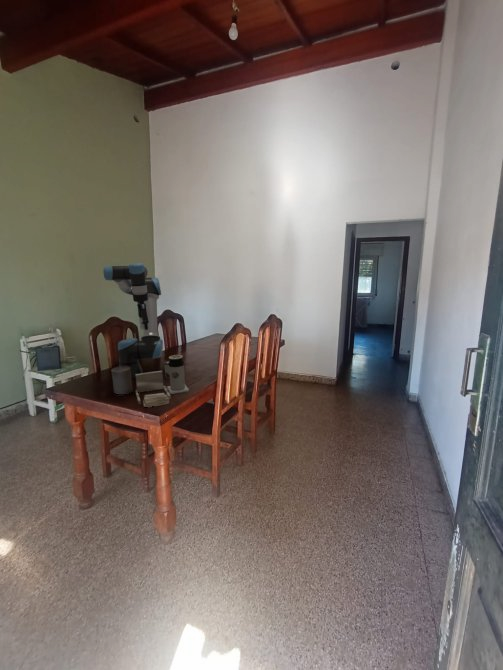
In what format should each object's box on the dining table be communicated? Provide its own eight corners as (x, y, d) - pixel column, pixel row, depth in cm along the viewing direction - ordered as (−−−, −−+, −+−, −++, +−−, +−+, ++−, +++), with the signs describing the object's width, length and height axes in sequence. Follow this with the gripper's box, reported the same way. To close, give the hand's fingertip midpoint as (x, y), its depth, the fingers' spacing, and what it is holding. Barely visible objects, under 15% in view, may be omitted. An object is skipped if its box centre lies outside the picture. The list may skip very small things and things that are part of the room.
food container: (186, 377, 209) (185, 361, 207) (180, 380, 204) (179, 364, 202) (170, 374, 214) (169, 359, 212) (164, 377, 209) (162, 362, 207)
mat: (167, 388, 191) (167, 386, 191) (184, 385, 195) (184, 383, 195) (170, 394, 182) (170, 392, 182) (188, 391, 186) (188, 389, 186)
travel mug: (175, 384, 193) (172, 354, 189) (187, 386, 191) (185, 355, 187) (167, 389, 185) (165, 358, 182) (180, 391, 183) (178, 359, 179)
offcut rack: (135, 391, 186) (133, 374, 184) (164, 387, 192) (163, 370, 190) (140, 409, 163) (138, 389, 161) (173, 403, 169) (172, 384, 167)
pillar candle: (130, 388, 192) (127, 362, 189) (134, 393, 184) (132, 366, 181) (112, 391, 187) (109, 365, 184) (116, 397, 179) (112, 370, 176)
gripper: (129, 290, 187) (134, 327, 194) (135, 298, 166) (141, 339, 172) (143, 289, 190) (148, 325, 197) (151, 296, 169) (156, 336, 175)
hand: (145, 331), depth 184 cm, fingers open, 13 cm apart
